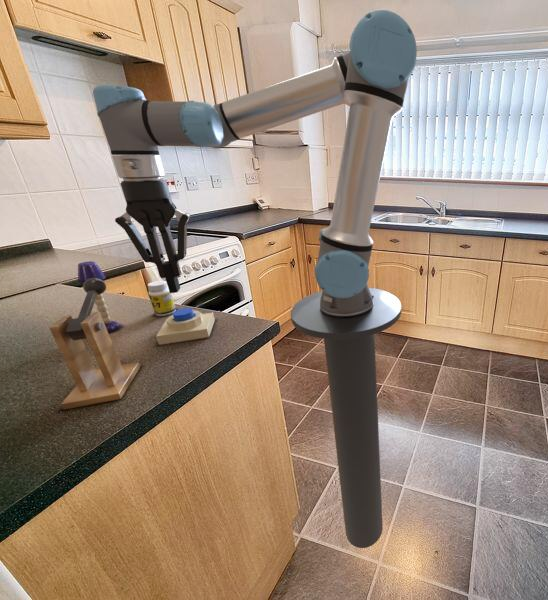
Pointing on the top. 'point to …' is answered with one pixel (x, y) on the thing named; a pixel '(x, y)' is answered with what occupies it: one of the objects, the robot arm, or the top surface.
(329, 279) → the robot arm
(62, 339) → the lever bracket
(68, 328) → the switch lever
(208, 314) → the button box
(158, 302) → the supplement bottle
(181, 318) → the switch button
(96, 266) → the toy lamp
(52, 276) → the top surface
